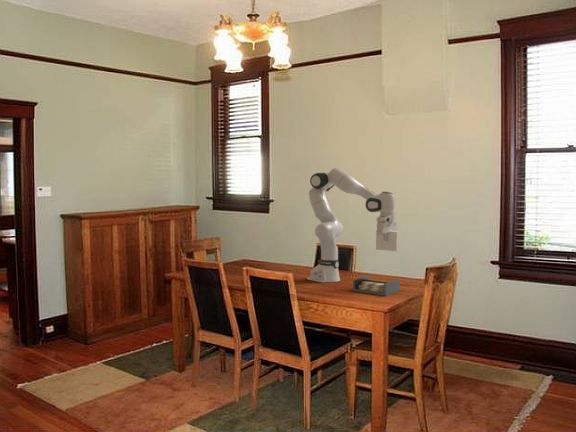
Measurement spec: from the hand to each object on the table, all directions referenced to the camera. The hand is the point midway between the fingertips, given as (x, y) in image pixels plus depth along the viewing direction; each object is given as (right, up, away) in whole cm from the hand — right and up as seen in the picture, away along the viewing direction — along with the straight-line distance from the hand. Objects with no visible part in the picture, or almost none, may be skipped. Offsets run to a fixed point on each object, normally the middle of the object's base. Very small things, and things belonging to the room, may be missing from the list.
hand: (387, 240), depth 335 cm
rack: (-8, -30, -10) cm, 33 cm away
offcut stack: (-11, -29, -14) cm, 34 cm away
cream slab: (0, -6, 0) cm, 6 cm away
